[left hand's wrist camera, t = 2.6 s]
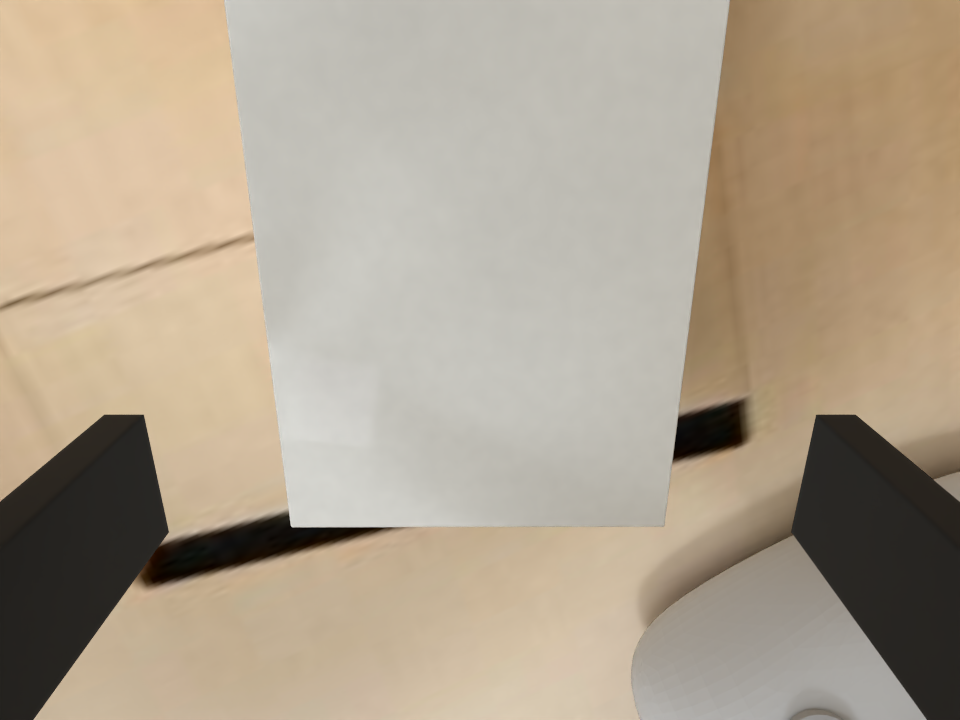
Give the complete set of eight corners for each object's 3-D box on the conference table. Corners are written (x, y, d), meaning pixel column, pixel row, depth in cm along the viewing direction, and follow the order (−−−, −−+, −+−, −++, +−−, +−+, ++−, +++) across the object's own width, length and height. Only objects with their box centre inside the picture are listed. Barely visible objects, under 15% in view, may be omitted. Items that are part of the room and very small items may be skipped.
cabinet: (322, -50, 24) (201, -171, 13) (631, -50, 24) (752, -171, 13) (355, 381, 30) (290, 528, 19) (599, 380, 30) (664, 527, 19)
